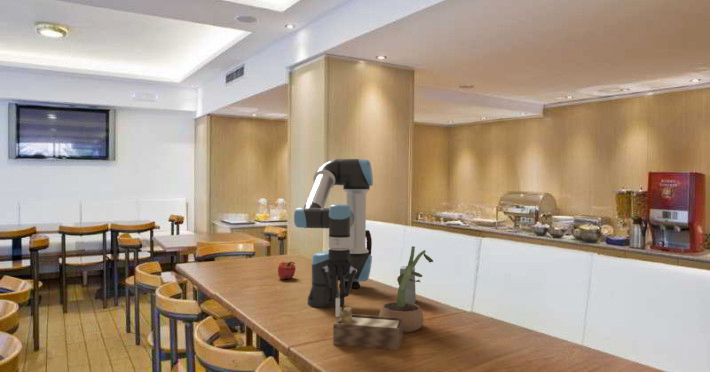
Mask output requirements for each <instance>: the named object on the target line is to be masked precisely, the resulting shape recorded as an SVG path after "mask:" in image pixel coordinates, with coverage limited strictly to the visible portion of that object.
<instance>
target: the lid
mask: <svg viewBox="0 0 710 372" xmlns="http://www.w3.org/2000/svg"><path fill="white" fill-rule="evenodd" d="M352 314H353V307H350V306H349V307H347V306H346V307H343V309H342V311H341V316H340V318H341V324H351V325H364V326H377V327H390V328H397V327H398V324H399V320H385V319H372V318H358V317H352Z"/></svg>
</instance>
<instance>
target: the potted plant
mask: <svg viewBox="0 0 710 372" xmlns="http://www.w3.org/2000/svg"><path fill="white" fill-rule="evenodd" d="M410 249H411V250H410V255H409V258H408V262H407V265H406V269H405V271H404V273H403V274H401V275H399V276H397V284H398V288H397V295H396V301H390V302H386V303H385V304H383V305H382V306H381V309H380V311H379V314H378V316H386V317H400V318H403V330H402V333H412V332H416V331H418V330H420V328H422V326H423V324H424V314H423V311H422V309H421V306H419V305H418V304H416V303H415V304H413V303H408V302H405V301H406V300H405V294H406V288H407V284H408V282H409V281H413V282H415V283H421V280H420V279H417V280H416V279H415V280H412V279H410V276H411V274H412V275H415V277H418V278H422V277H423V274H421V273H419V272H417V271H415V272H414V271H412V269H413V268H414V267H416V265H417V263H418V262H419V260H420V259H421V257H422V256H423V257H424V259H426V260H427V262H428V263H434V260H433V259H432V258H431V257H430V256H429V255H427V254H426V253H427V252H426V250H425V249H424V250H422V251H421V252H418V254H417V255H416V257H415V249H416V246H412V245H411V248H410Z"/></svg>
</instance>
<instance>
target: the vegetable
mask: <svg viewBox="0 0 710 372" xmlns="http://www.w3.org/2000/svg"><path fill="white" fill-rule="evenodd" d="M295 264H296V263H295V262H293V261H287V262H285V261H284V262H280V263H278V266H277V273H278V274H277V275H278V277H279V279H281V280H286V279H287V280H291V279H293V278H294V276H295V272H296V265H295Z"/></svg>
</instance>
